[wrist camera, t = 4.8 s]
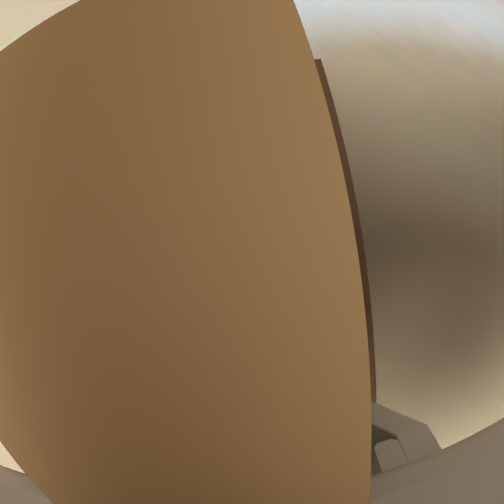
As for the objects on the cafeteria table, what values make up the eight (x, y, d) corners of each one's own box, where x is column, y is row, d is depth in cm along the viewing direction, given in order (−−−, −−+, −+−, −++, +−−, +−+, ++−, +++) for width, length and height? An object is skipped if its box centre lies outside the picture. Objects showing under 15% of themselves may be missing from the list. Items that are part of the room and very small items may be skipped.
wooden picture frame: (260, 153, 13) (268, -57, 1) (318, 441, 16) (350, 621, 4) (190, 170, 13) (-95, 148, 1) (268, 450, 16) (271, 631, 4)
